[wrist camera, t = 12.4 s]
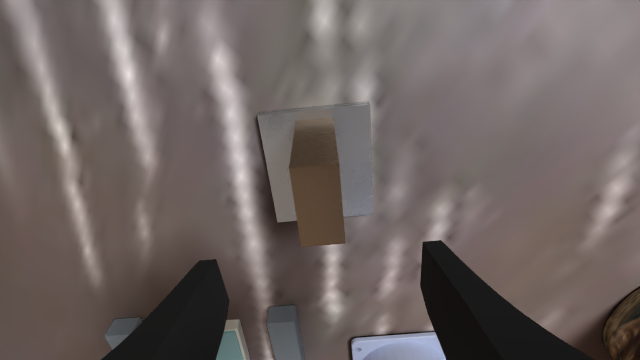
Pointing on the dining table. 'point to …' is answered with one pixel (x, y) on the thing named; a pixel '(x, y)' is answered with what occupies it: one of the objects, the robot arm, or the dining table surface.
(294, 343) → the tile frame
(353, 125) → the trowel
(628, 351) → the jar
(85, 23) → the dining table surface
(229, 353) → the tile
